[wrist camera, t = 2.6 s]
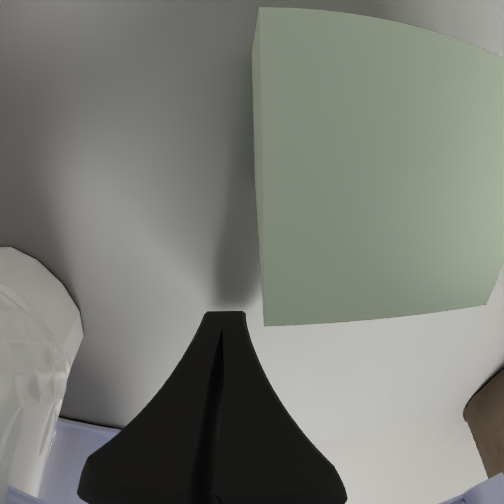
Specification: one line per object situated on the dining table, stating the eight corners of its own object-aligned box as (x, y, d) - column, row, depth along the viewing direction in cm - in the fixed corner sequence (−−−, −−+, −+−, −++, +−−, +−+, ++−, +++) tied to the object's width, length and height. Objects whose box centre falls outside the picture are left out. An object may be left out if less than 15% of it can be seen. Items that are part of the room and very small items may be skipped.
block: (378, 184, 10) (485, 304, 4) (254, 183, 10) (263, 326, 4) (387, 61, 8) (540, 75, 2) (251, 52, 8) (259, 7, 2)
